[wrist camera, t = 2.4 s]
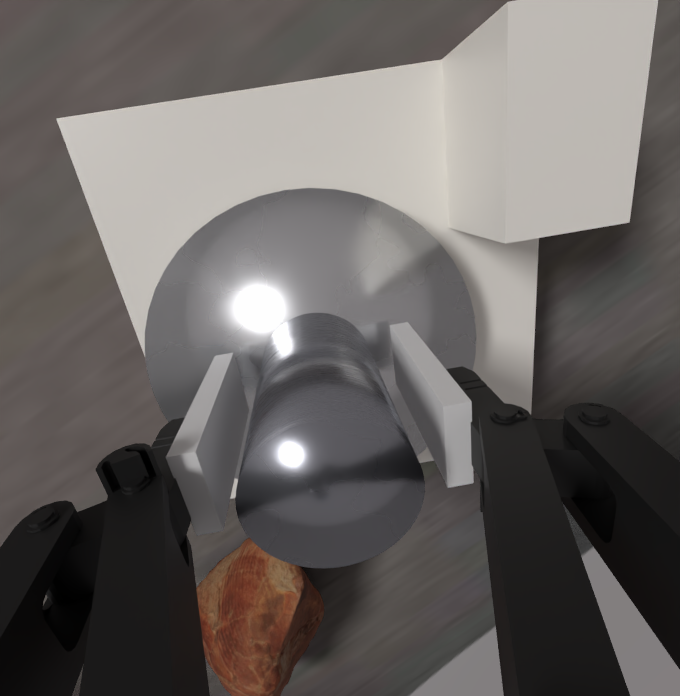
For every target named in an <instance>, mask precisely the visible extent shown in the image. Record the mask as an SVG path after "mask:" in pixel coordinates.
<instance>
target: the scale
mask: <svg viewBox="0 0 680 696" xmlns="http://www.w3.org/2000/svg"><path fill="white" fill-rule="evenodd" d="M657 4H658V0H517V1H510V2H507V3H506V4H505V5H504V6H503V7H502V8H500V9H499V10H498V11H497V12H496V13H495V14H494V15H492V16H491V17H490V18H489V19H488V20H487V21H486V22H484V23H483V24H482V25H481V26H480V27H479V28H477V29H476V30H475V31H474V32H473V33H472V34H471V35H469V36H468V37H467V38H466V39H465V40H464V41H463V42H461V43H460V44H459V45H458V46H457V47H456V48H455V49H453V50H452V51H451V52H450V53H449V54H448V55H446V56H445V57H444V58H443V59H442V60H436V61H429V62H423V63H416V64H410V65H403V66H397V67H390V68H384V69H377V70H371V71H364V72H358V73H351V74H344V75H338V76H331V77H325V78H318V79H312V80H305V81H299V82H292V83H286V84H279V85H273V86H266V87H260V88H253V89H247V90H240V91H234V92H227V93H221V94H214V95H207V96H201V97H194V98H188V99H181V100H175V101H168V102H162V103H155V104H149V105H142V106H136V107H129V108H123V109H116V110H110V111H103V112H97V113H90V114H84V115H77V116H70V117H64V118H57V122H58V125H59V127H60V130H61V133H62V135H63V138H64V141H65V143H66V146H67V149H68V151H69V154H70V157H71V159H72V162H73V165H74V167H75V170H76V173H77V176H78V178H79V181H80V184H81V186H82V189H83V192H84V194H85V197H86V200H87V202H88V205H89V208H90V210H91V213H92V216H93V218H94V221H95V224H96V227H97V229H98V232H99V235H100V237H101V240H102V243H103V245H104V248H105V251H106V253H107V256H108V259H109V261H110V264H111V267H112V269H113V272H114V275H115V278H116V280H117V283H118V286H119V288H120V291H121V294H122V296H123V299H124V302H125V304H126V307H127V310H128V312H129V315H130V318H131V320H132V323H133V326H134V329H135V331H136V334H137V337H138V339H139V342H140V345H141V347H142V350H143V353H144V355H145V328H146V321H147V315H148V310H149V307H150V303H151V300H152V297H153V294H154V291H155V288H156V286H157V284H158V282H159V280H160V278H161V276H162V274H163V272H164V270H165V269H166V267H167V266H168V264H169V263H170V261H171V260H172V259H173V257H174V256H175V254H176V253H177V251H178V250H179V249H180V248H181V247H182V246H183V245H184V244H185V243H186V242H187V240H188V239H189V238H190V237H191V236H192V235H193V234H194V233H195V232H196V231H198V230H199V229H200V228H202V227H203V226H204V225H205V224H207V223H208V222H209V221H211V220H212V219H213V218H214V217H216V216H218V215H220V214H221V213H223V212H225V211H227V210H228V209H230V208H232V207H234V206H235V205H238V204H240V203H243V202H245V201H248V200H251V199H253V198H256V197H258V196H261V195H265V194H270V193H274V192H278V191H282V190H290V189H301V188H324V189H337V190H342V191H347V192H352V193H357V194H361V195H364V196H367V197H370V198H373V199H376V200H378V201H381V202H384V203H386V204H388V205H389V206H391V207H393V208H395V209H397V210H399V211H401V212H403V213H405V214H406V215H407V216H409V217H410V218H412V219H413V220H414V221H416V222H417V223H419V224H420V225H422V226H423V227H424V228H425V229H426V230H427V231H428V232H429V233H430V234H431V235H432V236H433V237H434V238H435V239H436V240H437V241H438V242H439V243H440V244H441V245H442V247H443V248H444V249H445V250H446V252H447V253H448V254H449V256H450V257H451V258H452V259H453V261H454V263H455V265H456V267H457V268H458V270H459V272H460V274H461V275H462V277H463V279H464V282H465V285H466V287H467V290H468V292H469V295H470V298H471V302H472V306H473V311H474V315H475V324H476V355H475V361H474V366H473V371H474V372H475V373H476V374H477V375H478V376H479V377H480V378H481V380H483V381H484V382H485V383H486V384H487V386H488V387H489V388H490V389H491V390H492V391H493V392H494V393H495V394H496V395H497V396H498V397H499V398H500V399H501V400H502V401H503V402H504V403H506V404H513V405H517V406H520V407H522V408H524V409H525V410H527V411H528V412H529V413H530V415H531V407H532V384H533V361H534V338H535V315H536V293H537V270H538V247H539V238H542V237H547V236H553V235H559V234H565V233H571V232H577V231H583V230H589V229H594V228H600V227H606V226H612V225H618V224H624V223H630V215H631V207H632V199H633V191H634V184H635V176H636V168H637V160H638V152H639V145H640V137H641V129H642V121H643V113H644V106H645V98H646V90H647V82H648V74H649V66H650V59H651V51H652V43H653V35H654V27H655V20H656V12H657ZM417 458H418V461H419V463H423V462H429V461H434V459H433V457H432V455H431V453H430V451H429V449H428V447H427V448H426V449H425V450H424V451H423V452H422V453H421V454H419V455H418V456H417ZM237 483H238V479H236V478H235V479H234V483H233V488H232V493H231V497H230V499H232V498H235V497H236V488H237Z"/></svg>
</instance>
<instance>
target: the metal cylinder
mask: <svg viewBox="0 0 680 696" xmlns="http://www.w3.org/2000/svg"><path fill="white" fill-rule="evenodd" d="M424 493H425V481H424V476H423V471H422V468H421V466H420V463H419V461H418V458H417V456H416V454H415V451H414V449H413V447H412V445H411V442H410V440H409V438H408V436H407V433H406V431H405V429H404V426H403V424H402V422H401V420H400V417H399V415H398V413H397V411H396V408H395V406H394V404H393V401H392V399H391V397H390V395H389V392H388V390H387V388H386V385H385V383H384V381H383V379H382V376H381V374H380V372H379V370H378V367H377V365H376V363H375V360H374V358H373V356H372V354H371V351H370V349H369V347H368V345H367V342H366V340H365V339H364V337H363V335H362V334H361V333H360V331H359V330H358V329H357V328H356V327H355V326H354V325H352V324H351V323H350V322H348V321H347V320H345V319H343V318H341V317H339V316H336V315H332V314H328V313H307V314H303V315H299V316H297V317H294V318H292V319H290V320H288V321H287V322H285V323H284V324H282V325H281V326H280V327H279V328H278V329H277V330H276V331H275V332H274V333H273V334H272V336H271V337H270V339H269V341H268V342H267V345H266V347H265V350H264V354H263V359H262V364H261V369H260V374H259V379H258V384H257V389H256V394H255V399H254V404H253V409H252V414H251V418H250V423H249V428H248V433H247V438H246V443H245V448H244V453H243V458H242V463H241V468H240V473H239V478H238V483H237V488H236V497H235V500H236V510H237V514H238V518H239V521H240V523H241V525H242V527H243V529H244V531H245V532H246V534H247V535H248V536H249V538H250V539H251V540H252V541H253V542H254V543H255V544H256V545H257V546H258V547H259V548H261V549H262V550H263V551H265V552H266V553H268V554H269V555H271V556H273V557H275V558H277V559H279V560H281V561H284V562H287V563H289V564H293V565H297V566H302V567H309V568H336V567H343V566H348V565H352V564H356V563H359V562H362V561H365V560H368V559H370V558H372V557H374V556H377V555H378V554H380V553H382V552H384V551H385V550H387V549H388V548H390V547H391V546H392V545H394V544H395V543H396V542H397V541H399V540H400V539H401V538H402V537H403V536H404V535H405V534H406V532H407V531H408V530H409V529H410V528H411V526H412V525H413V523H414V522H415V520H416V518H417V516H418V514H419V512H420V510H421V507H422V504H423V499H424Z"/></svg>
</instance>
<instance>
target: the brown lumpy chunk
mask: <svg viewBox="0 0 680 696" xmlns="http://www.w3.org/2000/svg"><path fill="white" fill-rule="evenodd" d="M196 590H197V598H198V606H199V614H200V622H201V630H202V638H203V646H204V654H205V657H206V659H207V661H208V663H209V665H210V666H211V668H212V669H213V671H214V672H215V673H216V674H217V676H218V678H219V680H220V682H221V683H222V685H223V686H224V688H225V689H226V690H227V691H228V692H229V693H230V694H231V695H232V696H280V695H281V692H282V690H283V689H284V687H285V685H286V684H287V683H288V682H289V679H290V677H291V674H292V671H293V668H294V666H295V665H296V663H297V661H298V660H299V659H300V657H301V656H302V655H303V653H304V652H305V651H306V649H307V647H308V646H309V643H310V641H311V640H312V639H313V637H314V636H315V633H316V631H317V629H318V627H319V624H320V623H321V621H322V619H323V615H324V604H323V600H322V598H321V595H320V593H319V592H318V590H317V589H316V588H315V587H314V586H313V585H312V583H311V582H310V580H309V579H308V577H307V575H306V573H305V572H304V570H303V569H302V568H301V566H297V565H293V564H289V563H287V562H284V561H281V560H279V559H277V558H275V557H273V556H271V555H269V554H268V553H266V552H265V551H263V550H262V549H261V548H259V547H258V546H257V545H256V544H255V543H254V542H253V541H252V540H251V539H250V538H248V539H246V540H245V541H244V542H243V543H242V545H241V546H240V547H239V548H237V549H236V550H235V551H233V552H232V553H231V554H229V555H227V556H226V557H225V558H223V559H222V560H221V561H219V562H218V563H217V565H216V566H215V568H213V569H212V570H211V571H210V572H209V574H208V575H207V577H206V578H205V579H204V580H203V581H201V583H200V584H199V586H198V587H197V588H196Z"/></svg>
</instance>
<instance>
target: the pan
mask: <svg viewBox="0 0 680 696" xmlns="http://www.w3.org/2000/svg"><path fill="white" fill-rule="evenodd" d="M307 313H328V314H332V315H336V316H339V317H341V318H343V319H345V320H347V321H348V322H350V323H351V324H352V325H354V326H355V327H356V328H357V329H358V330H359V331H360V333H361V334H362V335H363V337H364V339H365V340H366V342H367V345H368V347H369V349H370V351H371V354H372V356H373V358H374V360H375V363H376V365H377V367H378V370H379V372H380V374H381V376H382V379H383V381H384V383H385V385H386V388H387V390H388V392H389V395H390V397H391V399H392V401H393V404H394V406H395V408H396V411H397V413H398V415H399V417H400V420H401V422H402V424H403V426H404V429H405V431H406V433H407V436H408V438H409V440H410V442H411V445H412V447H413V449H414V451H415V454H416V456H418V455H419V454H421V453H422V452H423V451H424V450H425V449H426V448H427V445H426V443H425V441H424V439H423V437H422V435H421V433H420V431H419V429H418V427H417V425H416V423H415V421H414V419H413V417H412V415H411V413H410V411H409V409H408V407H407V405H406V403H405V401H404V399H403V397H402V395H401V393H400V391H399V389H398V387H397V385H396V380H395V371H394V361H393V352H392V343H391V333H390V325H393V324H399V323H405V322H408V323H409V324H410V326H411V327H412V328H413V329H414V331H415V332H416V333H417V334H418V335H419V337H420V338H421V339H422V340H423V342H424V343H425V344H426V345H427V347H428V348H429V349H430V350H431V352H432V353H433V354H434V355H435V357H436V358H437V359H438V360H439V362H440V363H441V364H442V365H443V367H444V368H445V369H450V368H455V367H461V366H463V367H465V368H468V369H470V370H472V371H473V366H474V361H475V355H476V324H475V315H474V311H473V306H472V302H471V298H470V295H469V292H468V290H467V287H466V285H465V282H464V279H463V277H462V275H461V274H460V272H459V270H458V268H457V267H456V265H455V263H454V261H453V259H452V258H451V257H450V256H449V254H448V253H447V252H446V250H445V249H444V248H443V247H442V245H441V244H440V243H439V242H438V241H437V240H436V239H435V238H434V237H433V236H432V235H431V234H430V233H429V232H428V231H427V230H426V229H425V228H424V227H423V226H422V225H420V224H419V223H417V222H416V221H414V220H413V219H412V218H410V217H409V216H407V215H406V214H405V213H403V212H401V211H399V210H397V209H395V208H393V207H391V206H389V205H388V204H386V203H384V202H381V201H378V200H376V199H373V198H370V197H367V196H364V195H361V194H357V193H352V192H347V191H342V190H337V189H324V188H301V189H290V190H282V191H278V192H274V193H270V194H265V195H261V196H258V197H256V198H253V199H251V200H248V201H245V202H243V203H240V204H238V205H235V206H234V207H232V208H230V209H228V210H227V211H225V212H223V213H221V214H220V215H218V216H216V217H214V218H213V219H212V220H211V221H209V222H208V223H207V224H205V225H204V226H203V227H202V228H200V229H199V230H198V231H196V232H195V233H194V234H193V235H192V236H191V237H190V238H189V239H188V240H187V242H186V243H185V244H184V245H183V246H182V247H181V248H180V249H179V250H178V251H177V253H176V254H175V256H174V257H173V259H172V260H171V261H170V263H169V264H168V266H167V267H166V269H165V270H164V272H163V274H162V276H161V278H160V280H159V282H158V284H157V286H156V288H155V291H154V294H153V297H152V300H151V303H150V307H149V310H148V315H147V321H146V328H145V359H146V365H147V372H148V376H149V380H150V383H151V387H152V390H153V393H154V395H155V398H156V400H157V402H158V404H159V406H160V408H161V411H162V412H163V414H164V416H165V417H166V419H167V420H168V422H170V421H171V420H173V419H178V418H184V417H186V415H187V412H188V410H189V408H190V406H191V404H192V402H193V400H194V398H195V396H196V394H197V392H198V390H199V388H200V386H201V384H202V382H203V379H204V377H205V375H206V373H207V371H208V369H209V367H210V365H211V363H212V361H213V359H214V357H215V356H217V355H222V354H228V353H234V356H235V360H236V363H237V367H238V371H239V374H240V378H241V381H242V385H243V389H244V392H245V396H246V400H247V403H248V407H249V414H248V418H247V423H246V428H245V432H244V437H243V442H242V446H241V451H240V455H239V460H238V465H237V469H236V474H235V478H236V479H238V478H239V473H240V468H241V463H242V458H243V453H244V448H245V443H246V438H247V433H248V428H249V423H250V418H251V414H252V409H253V404H254V399H255V394H256V389H257V384H258V379H259V374H260V369H261V364H262V359H263V354H264V350H265V347H266V345H267V342H268V341H269V339H270V337H271V336H272V334H273V333H274V332H275V331H276V330H277V329H278V328H279V327H280V326H281V325H282V324H284V323H285V322H287V321H288V320H290V319H292V318H294V317H297V316H299V315H303V314H307Z"/></svg>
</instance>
